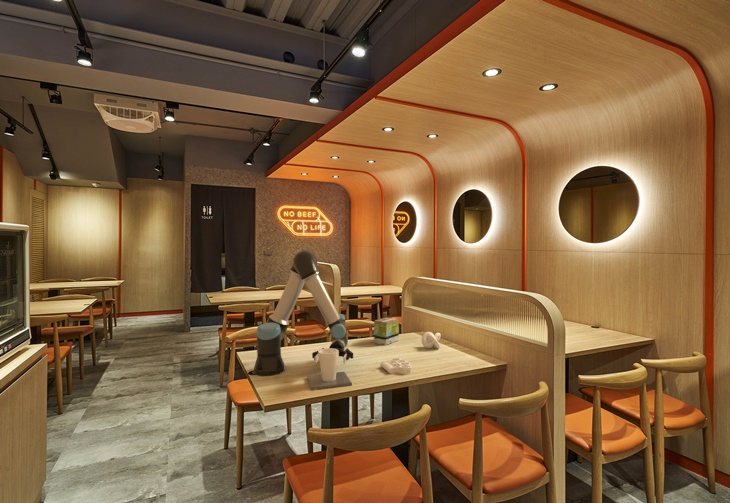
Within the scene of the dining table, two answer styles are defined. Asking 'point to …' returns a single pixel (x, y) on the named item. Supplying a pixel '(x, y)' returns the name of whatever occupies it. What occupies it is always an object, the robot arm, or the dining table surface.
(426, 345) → the pretzel
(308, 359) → the dining table surface
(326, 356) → the foam cup
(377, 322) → the tea box
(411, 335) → the dining table surface
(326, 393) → the dining table surface
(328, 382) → the tile
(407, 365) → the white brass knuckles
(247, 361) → the dining table surface
